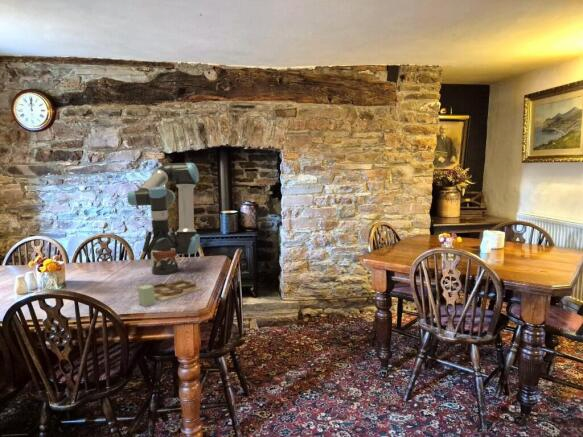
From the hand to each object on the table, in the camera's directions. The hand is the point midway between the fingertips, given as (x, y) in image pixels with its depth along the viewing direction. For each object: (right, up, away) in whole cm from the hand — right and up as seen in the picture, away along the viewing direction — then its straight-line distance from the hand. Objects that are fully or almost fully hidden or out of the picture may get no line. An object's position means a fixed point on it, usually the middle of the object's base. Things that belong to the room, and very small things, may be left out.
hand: (162, 263), depth 193 cm
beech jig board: (+3, -15, +4) cm, 16 cm away
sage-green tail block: (-3, -17, -13) cm, 22 cm away
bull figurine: (0, -1, 0) cm, 1 cm away
